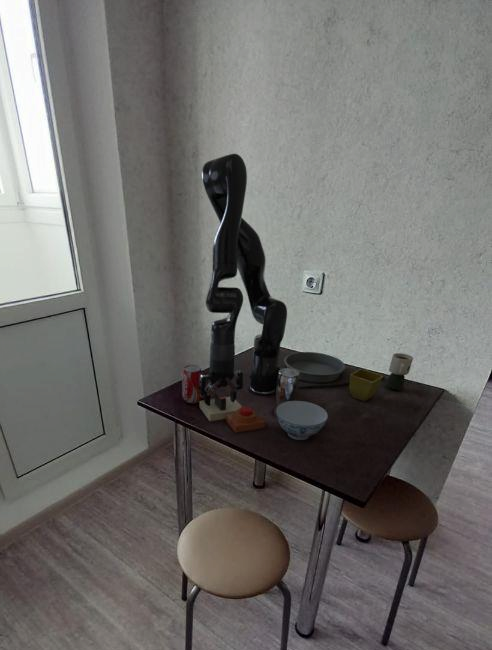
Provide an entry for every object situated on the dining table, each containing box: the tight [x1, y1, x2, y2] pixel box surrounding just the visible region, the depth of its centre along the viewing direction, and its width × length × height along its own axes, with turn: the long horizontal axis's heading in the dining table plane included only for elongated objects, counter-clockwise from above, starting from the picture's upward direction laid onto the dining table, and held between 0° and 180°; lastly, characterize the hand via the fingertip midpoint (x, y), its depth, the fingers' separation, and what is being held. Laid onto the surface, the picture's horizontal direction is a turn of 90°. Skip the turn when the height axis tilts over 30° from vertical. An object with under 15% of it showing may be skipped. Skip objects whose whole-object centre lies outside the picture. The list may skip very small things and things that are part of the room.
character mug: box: [385, 352, 414, 391], centre depth 152 cm, size 11×7×13 cm, turn 165°
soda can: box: [181, 364, 204, 404], centre depth 137 cm, size 7×7×12 cm
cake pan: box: [283, 351, 346, 384], centre depth 165 cm, size 25×25×4 cm
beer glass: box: [273, 367, 300, 417], centre depth 130 cm, size 7×7×15 cm
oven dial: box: [214, 391, 226, 411], centre depth 130 cm, size 6×2×4 cm, turn 22°
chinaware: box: [276, 400, 328, 441], centre depth 121 cm, size 15×15×8 cm
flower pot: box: [348, 368, 384, 402], centre depth 145 cm, size 9×9×9 cm
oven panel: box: [199, 396, 243, 422], centre depth 133 cm, size 12×11×3 cm
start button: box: [240, 405, 253, 416], centre depth 125 cm, size 4×4×2 cm
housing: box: [225, 409, 266, 433], centre depth 126 cm, size 10×8×4 cm
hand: (220, 402), depth 131 cm, fingers open, 8 cm apart
